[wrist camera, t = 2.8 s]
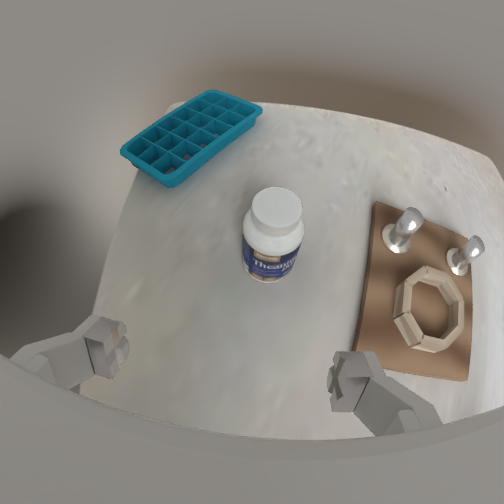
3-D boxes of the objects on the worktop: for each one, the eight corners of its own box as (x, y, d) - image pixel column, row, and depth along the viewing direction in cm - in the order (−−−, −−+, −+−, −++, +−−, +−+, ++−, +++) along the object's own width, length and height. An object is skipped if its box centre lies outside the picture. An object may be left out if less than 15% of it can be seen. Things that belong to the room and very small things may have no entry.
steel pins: (467, 280, 28) (490, 263, 24) (380, 248, 30) (399, 225, 25) (465, 254, 30) (486, 235, 25) (382, 221, 32) (399, 196, 27)
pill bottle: (248, 289, 28) (251, 241, 20) (237, 244, 31) (236, 185, 22) (298, 278, 29) (321, 228, 21) (284, 235, 32) (299, 176, 23)
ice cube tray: (265, 123, 42) (266, 108, 39) (171, 199, 34) (167, 183, 31) (212, 101, 45) (211, 88, 42) (122, 164, 37) (116, 150, 34)
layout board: (461, 381, 23) (478, 377, 20) (349, 361, 25) (362, 357, 22) (463, 242, 32) (475, 231, 29) (372, 206, 34) (381, 191, 31)
